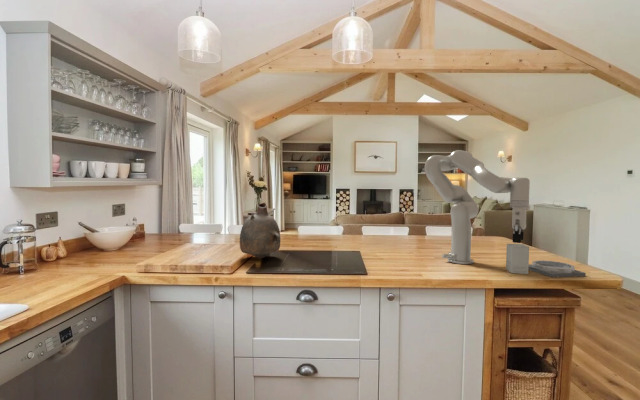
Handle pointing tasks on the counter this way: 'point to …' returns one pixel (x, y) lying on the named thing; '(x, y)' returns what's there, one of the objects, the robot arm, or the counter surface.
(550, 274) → the charcoal board
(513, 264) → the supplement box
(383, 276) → the counter surface
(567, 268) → the steel ring
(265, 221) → the jug
